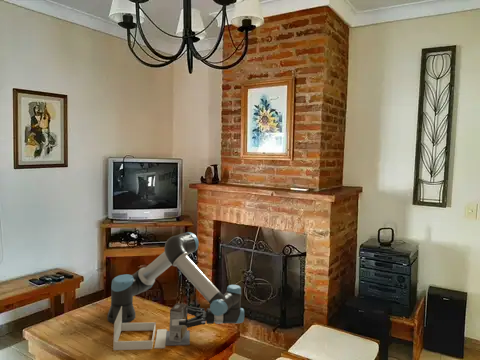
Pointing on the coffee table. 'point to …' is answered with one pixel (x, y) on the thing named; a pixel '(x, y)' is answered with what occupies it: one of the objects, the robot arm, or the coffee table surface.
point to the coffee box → (178, 330)
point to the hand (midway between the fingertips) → (172, 316)
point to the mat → (184, 342)
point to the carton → (134, 327)
